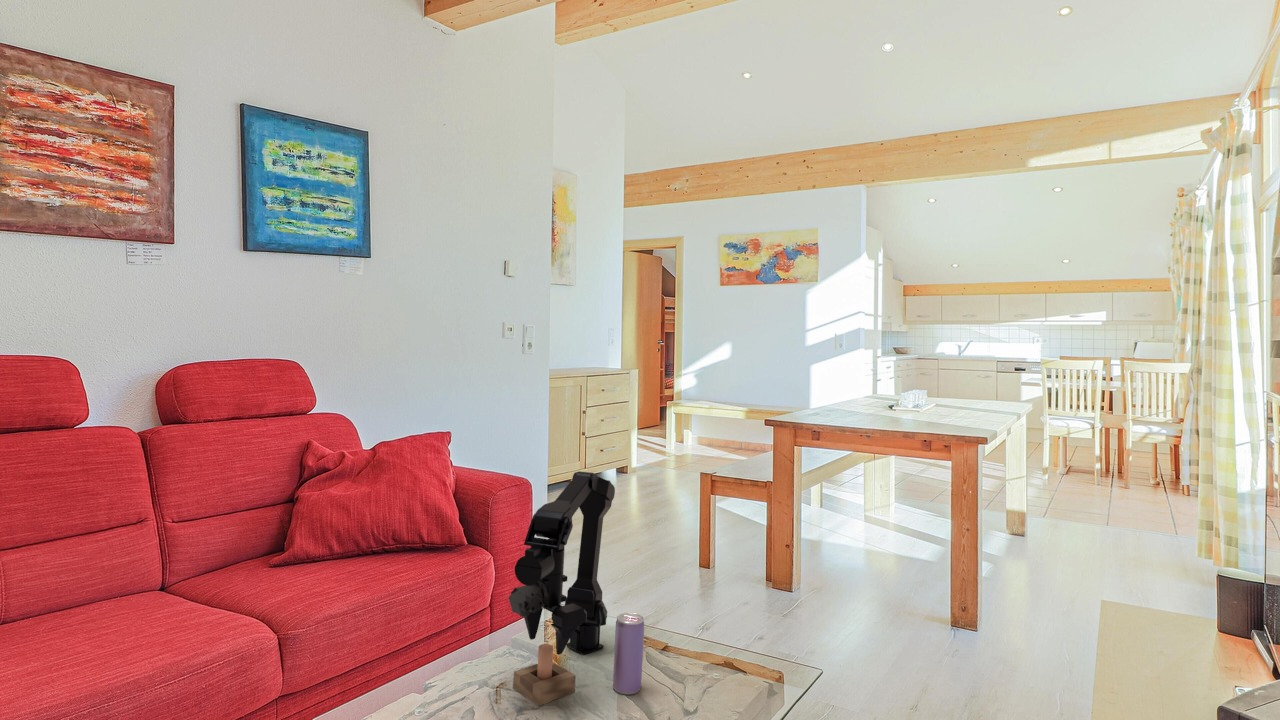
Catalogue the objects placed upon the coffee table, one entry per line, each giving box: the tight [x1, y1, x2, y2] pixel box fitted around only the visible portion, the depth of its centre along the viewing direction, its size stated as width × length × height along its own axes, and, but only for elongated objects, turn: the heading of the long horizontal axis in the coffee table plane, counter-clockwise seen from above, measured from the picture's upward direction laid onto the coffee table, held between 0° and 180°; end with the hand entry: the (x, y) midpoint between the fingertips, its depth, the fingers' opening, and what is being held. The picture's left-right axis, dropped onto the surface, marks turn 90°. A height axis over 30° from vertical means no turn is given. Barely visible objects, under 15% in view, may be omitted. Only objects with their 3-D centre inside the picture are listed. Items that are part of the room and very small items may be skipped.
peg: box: [537, 643, 554, 681], centre depth 149 cm, size 3×3×9 cm
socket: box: [512, 661, 576, 706], centre depth 149 cm, size 9×9×4 cm
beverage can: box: [612, 612, 645, 696], centre depth 151 cm, size 6×6×15 cm
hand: (545, 646), depth 148 cm, fingers open, 9 cm apart
